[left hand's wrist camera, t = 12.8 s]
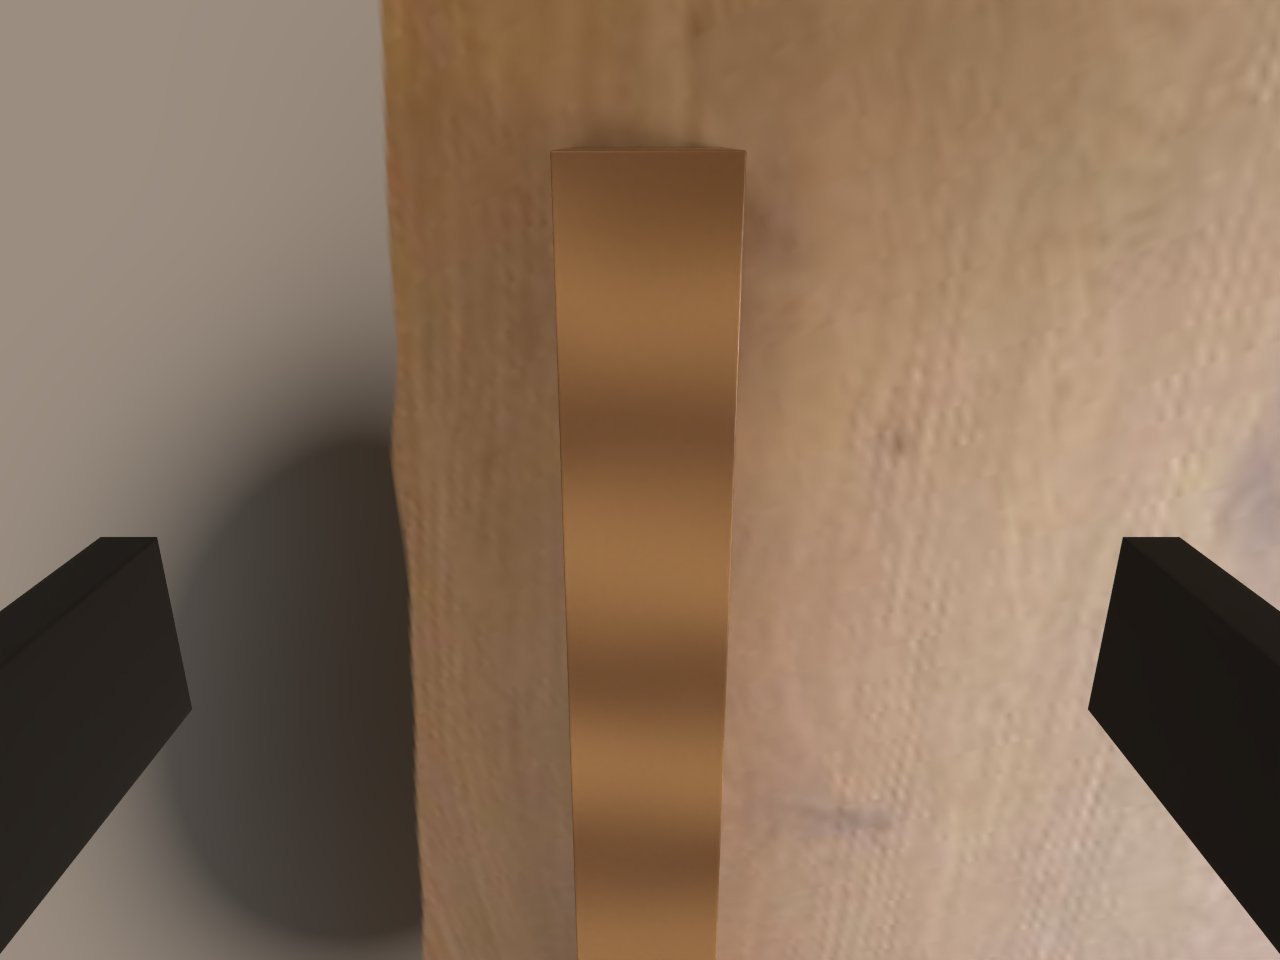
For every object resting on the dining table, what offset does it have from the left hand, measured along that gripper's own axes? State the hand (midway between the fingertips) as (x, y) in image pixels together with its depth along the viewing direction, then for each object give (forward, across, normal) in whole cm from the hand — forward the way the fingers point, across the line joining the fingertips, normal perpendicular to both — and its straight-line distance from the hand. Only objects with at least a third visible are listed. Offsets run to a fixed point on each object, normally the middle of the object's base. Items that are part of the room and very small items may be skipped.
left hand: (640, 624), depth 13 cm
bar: (+24, 0, -30) cm, 38 cm away
